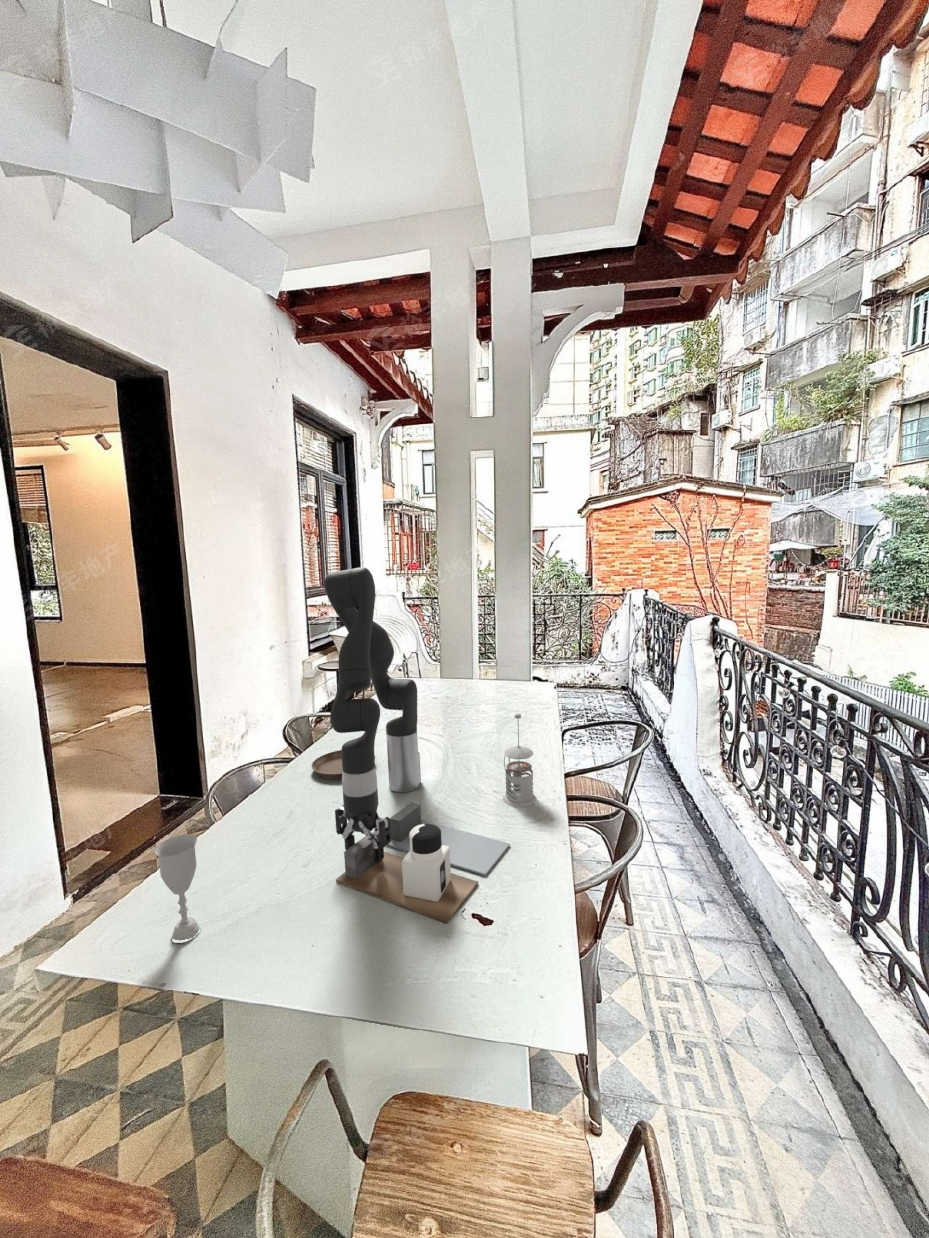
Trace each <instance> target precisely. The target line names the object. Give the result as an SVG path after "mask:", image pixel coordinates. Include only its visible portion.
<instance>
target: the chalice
mask: <svg viewBox="0 0 929 1238" xmlns="http://www.w3.org/2000/svg"><path fill="white" fill-rule="evenodd" d="M197 841H198V838H197V836H195V835H194V834H187V833H186V834H178V835H175V836H172V837H170V838H168V839H165V840H164V841H162V842H160V843H158V845H157V846H156V848H155V849H154V854H155V855H156V856H157V858H158V865H159V872H160V873H159V874H160V878H161V879H162V881H163V882H164V884H165V886H166V887H167V888H168V889H169V890H170V891H171V893H172V894H174V895H178V900H177V904H178V905H179V907H180V908H179V910H178V914H179V915H180V916H181V920H179V921H178V922H177V923H176V924H175V926H174V928H173V929H174V930H173V931H172V935H171V937H172V939H175V940H180V941H181V940H185V939H190V938H193V937H194V936H195V935H196V934H197V933H198V931H199V929H200V927H201V926H200V925H199V923H198V922H197V920H196V919H195V918H192V917H188V912H189V909H190V908H189V907H187V905H186V904H187V901H188V898H186V895H185V893H186V892H187V891H188V890H189V889H190V887H191V885H192V882H193V879H194V877H195V873H196V871H197V866H198V865H197V856H196V847H195V846H196V844H197ZM199 926H200V927H199Z"/></svg>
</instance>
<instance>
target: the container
mask: <svg viewBox="0 0 929 1238" xmlns="http://www.w3.org/2000/svg"><path fill="white" fill-rule="evenodd" d="M409 837H410V851H409V852H407V853H406V855H405V857H403V858H404V859H403V860H402V873H403V892H404V895H405V896H410V897H415V898H420V899H425V900H430V901H435V902H438V901H439V899H440V898H441V896H442V894H443V892H444V891H445V889H446V887H447V885H448V884H449V882H450V880H451V873H452V872H451V867H452V866H451V865H450V847H449V846H444V845H442V840H441V830H440V828H439V827H437V826H436V825H433V824H421V825H418V826H416V827H414V828H413V829H412V830H411V831H410V833H409Z"/></svg>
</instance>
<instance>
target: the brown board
mask: <svg viewBox="0 0 929 1238" xmlns="http://www.w3.org/2000/svg"><path fill="white" fill-rule="evenodd" d="M370 832H371V834H372V833H374V831H370ZM375 838H376V840H377V841H378V839H377V837H376V836H375ZM373 848H374V846H373V844H372V843H371V841H370V840H368V839H367V837H366V835H365V836H364V837H362V838H361V839H359V840H358V841H357V842H355V844H354V845H353V846H351V847H350V848H349V849H347V850H345V851H344V852H343V853H344V854H343V855H344V856H343V857H344V869H345V871H344V872H343V873H342V874H341V875H339V876H338V877H337V878H335V881H336V883H338V884H342V885H344V886H348V887H349V888H351V889H355V890H358V891H360V892H363V893H366V894H367V895H368V894H369V895H372V896H373V897H376V898H379V899H382V900H385V901H387V902H390V903H392V904H395V905H398V906H400V907H403V908H405V909H408V910H411V911H414V912H416V913H419V914H422V915H423V916H426V917H429V918H432V919H435V920H438V921H440V922H443V923H448V922H449V921H450V920H451V918H452V917H453V916H454V915H455V914H456V912H458V911H457V910H459V908H460V907H461V906H462V905H463V903H464V902H465V901H466V900H467V899H468V897H469V896H470V895H471V893H472V892H473V891H474V890H475V889H476V887H477V886H478V885H479V881H477V880H475V879H472V878H468V877H464V876H462V875H459V874H455V873H453V872H451V880H450V882H449V884H448V885H447V887H446V889H445V891H444V892H443V894H442V896H441V898H440V899H439V901H438V902H435V901H430V900H425V899H420V898H415V897H410V896H405V895H404V892H403V873H402V860H403V859H404V858H405V857H402V856H399V855H395V854H392V853H390V852H386V851H384V858H383V859H382V861H380V862H379V863H378V864H376V863H374V852H373Z"/></svg>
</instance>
